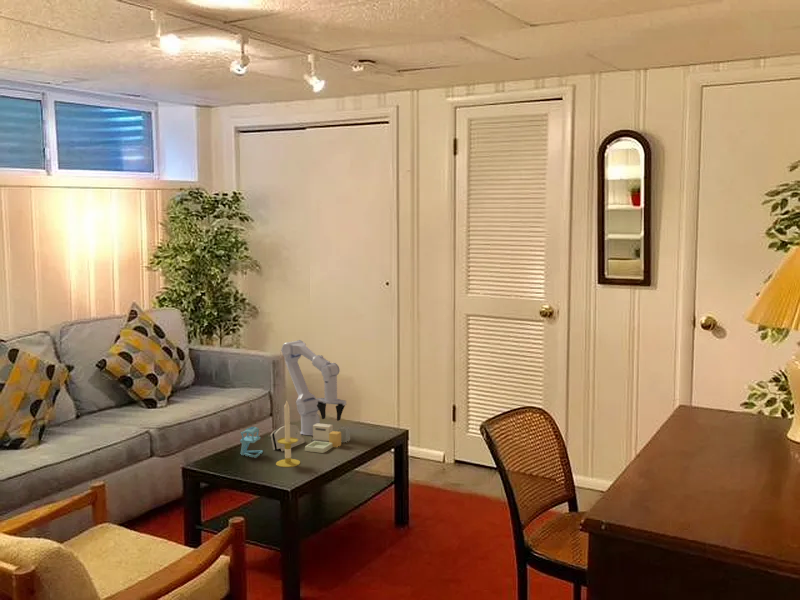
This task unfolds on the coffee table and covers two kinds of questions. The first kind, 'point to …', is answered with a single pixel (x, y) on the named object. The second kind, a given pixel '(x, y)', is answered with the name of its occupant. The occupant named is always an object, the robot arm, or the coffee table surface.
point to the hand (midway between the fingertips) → (331, 419)
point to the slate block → (344, 433)
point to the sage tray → (318, 446)
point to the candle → (287, 442)
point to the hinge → (281, 434)
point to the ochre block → (335, 438)
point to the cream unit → (321, 432)
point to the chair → (248, 440)
